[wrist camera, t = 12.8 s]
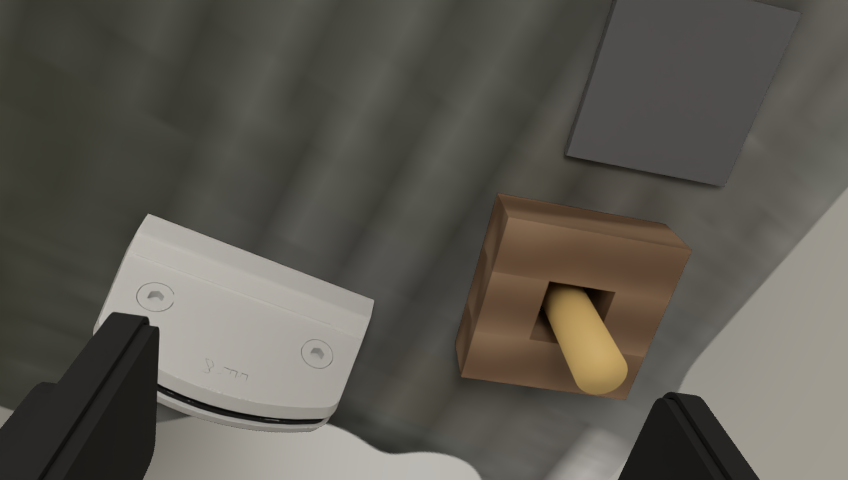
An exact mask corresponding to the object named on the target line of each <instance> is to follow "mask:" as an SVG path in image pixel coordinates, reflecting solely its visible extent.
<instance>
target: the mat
mask: <svg viewBox="0 0 848 480" xmlns="http://www.w3.org/2000/svg"><path fill="white" fill-rule="evenodd" d="M801 14H802V13H800V12H796V11H792V10H788V9H784V8H780V7H776V6H772V5H768V4H764V3H760V2H756V1H752V0H613V3H612V6H611V9H610V12H609V16H608V19H607V22H606V25H605V28H604V31H603V34H602V37H601V40H600V43H599V46H598V50H597V53H596V56H595V59H594V62H593V65H592V68H591V71H590V74H589V77H588V80H587V84H586V87H585V90H584V93H583V96H582V99H581V102H580V105H579V108H578V111H577V114H576V118H575V121H574V124H573V127H572V130H571V133H570V136H569V139H568V142H567V145H566V148H565V152H564V153H565V154H566V155H567V156H571V157H576V158H581V159H586V160H592V161H597V162H602V163H607V164H612V165H617V166H622V167H627V168H632V169H637V170H642V171H647V172H652V173H657V174H662V175H667V176H672V177H677V178H682V179H687V180H692V181H697V182H702V183H707V184H712V185H717V186H722V187H724V186H725V184H726V182H727V179H728V177H729V175H730V173H731V171H732V168H733V166H734V164H735V162H736V159H737V157H738V155H739V153H740V150H741V148H742V146H743V144H744V142H745V139H746V137H747V135H748V133H749V130H750V128H751V126H752V124H753V121H754V119H755V117H756V115H757V113H758V110H759V108H760V106H761V104H762V101H763V99H764V97H765V95H766V92H767V90H768V88H769V86H770V84H771V81H772V79H773V77H774V75H775V72H776V70H777V68H778V66H779V63H780V61H781V59H782V57H783V55H784V52H785V50H786V48H787V46H788V43H789V41H790V39H791V37H792V34H793V32H794V30H795V28H796V26H797V23H798V21H799V19H800V17H801Z"/></svg>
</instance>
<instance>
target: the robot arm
mask: <svg viewBox="0 0 848 480" xmlns="http://www.w3.org/2000/svg"><path fill="white" fill-rule="evenodd" d="M159 338H160V330H159V327H158V326H151V325H150V321H149V318H148V317H147V316H140V315H134V314H127V313H120V312H112V313H111V314H110V315H109V316H108V317H107V319H106V320H105V321H104V322H103V324H102V325H101V326H100V328H99V329H98V330H97V332H96V333H95V334H94V336H93V337H92V338H91V340H90V341H89V342H88V344H87V345H86V346H85V348H84V349H83V350H82V352H81V353H80V354H79V356H78V357H77V358H76V360H75V361H74V362H73V363H72V365H71V366H70V367H69V369H68V370H67V371H66V373H65V374H64V375H63V377H62V378H61V379H60V381H59V382H58V383H57V384H55V383H47V382H42V383H40V384H38V385H36V386H35V387H34V388H33V389H32V390H31V391H30V393H29V394H28V395H27V396H26V397H25V399H24V400H23V401H22V402H21V404H20V405H19V406H18V407H17V409H16V410H15V411H14V412H13V414H12V415H11V416H10V418H9V419H8V420H7V421H6V422H5V424H4V425H3V426H2V427H1V429H0V480H143V478H144V476H145V473H146V471H147V469H148V467H149V465H150V462H151V459H152V456H153V452H154V446H155V435H156V411H157V386H158V362H159ZM618 480H759V478H758V477H757V475H756V474H755V473H754V471H753V470H752V469H751V467H750V465H749V464H748V463H747V461H746V460H745V458H744V457H743V456H742V454H741V453H740V451H739V450H738V448H737V447H736V446H735V444H734V443H733V441H732V440H731V438H730V437H729V436H728V434H727V433H726V431H725V430H724V429H723V427H722V426H721V424H720V423H719V421H718V420H717V419H716V417H715V416H714V414H713V413H712V412H711V411H710V409H709V407H708V406H707V404H706V403H705V402H704V400H703V399H702V398H701V397H699V396H696V395H689V394H682V393H675V392H668V393H667V394H665V395H664V396H663V398H658V399H657V400H656V401H655V403H654V404H653V406H652V409H651V411H650V413H649V415H648V417H647V419H646V421H645V423H644V426H643V428H642V430H641V432H640V434H639V436H638V438H637V440H636V442H635V445H634V447H633V449H632V451H631V453H630V455H629V457H628V459H627V462H626V464H625V466H624V468H623V470H622V472H621V474H620V477H619V479H618Z"/></svg>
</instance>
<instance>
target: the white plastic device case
mask: <svg viewBox="0 0 848 480" xmlns="http://www.w3.org/2000/svg"><path fill="white" fill-rule="evenodd" d="M373 304H374V300H372V299H370V298H367V297H364V296H362V295H359V294H357V293H354V292H351V291H349V290H346V289H344V288H341V287H338V286H336V285H333V284H330V283H328V282H325V281H323V280H320V279H317V278H315V277H312V276H310V275H307V274H304V273H302V272H299V271H297V270H294V269H291V268H289V267H286V266H284V265H281V264H278V263H276V262H273V261H271V260H268V259H265V258H263V257H260V256H257V255H255V254H252V253H250V252H247V251H244V250H242V249H239V248H237V247H234V246H231V245H229V244H226V243H224V242H221V241H218V240H216V239H213V238H211V237H208V236H205V235H203V234H200V233H198V232H195V231H192V230H190V229H187V228H184V227H182V226H179V225H177V224H174V223H171V222H169V221H166V220H164V219H161V218H158V217H156V216H153V215H151V214H148V215H147V216H146V218H145V219H144V221H143V223H142V224H141V226H140V227H139V229H138V230H137V232H136V234H135V236H134V238H133V239H132V241H131V243H130V245H129V247H128V248H127V251H126V253H125V255H124V258H123V260H122V262H121V265H120V267H119V270H118V272H117V274H116V277H115V279H114V282H113V284H112V286H111V289H110V291H109V293H108V296H107V298H106V301H105V303H104V305H103V308H102V310H101V312H100V315H99V317H98V320H97V322H96V324H95V327H94V332H93V335H94V334H95V333H96V332H97V330H98V329H99V328H100V326H101V325H102V324H103V322H104V321H105V320H106V319H107V317H108V316H109V315H110V314H111V313H112V312H120V313H127V314H134V315H140V316H147V317H148V318H149V321H150V325H151V326H158V327H159V330H160V338H159V362H158V386H157V402H159V403H162V404H164V405H166V406H168V407H170V408H173V409H175V410H178V411H180V412H183V413H185V414H188V415H191V416H194V417H197V418H200V419H203V420H207V421H210V422H214V423H218V424H222V425H226V426H231V427H236V428H242V429H249V430H256V431H267V432H311V431H313V430H316V429H317V428H319V427H321V426H323V425H324V424H325V423H326V422H327V421H328V420H329V418H330V416H331V415H332V414H333V413H334V412H335V411H336V409H337V406H338V404H339V401H340V399H341V396H342V393H343V391H344V388H345V386H346V383H347V381H348V378H349V375H350V373H351V370H352V367H353V365H354V362H355V359H356V357H357V354H358V351H359V349H360V346H361V344H362V341H363V338H364V336H365V333H366V330H367V327H368V324H369V321H370V318H371V314H372V309H373Z"/></svg>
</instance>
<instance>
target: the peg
mask: <svg viewBox="0 0 848 480" xmlns="http://www.w3.org/2000/svg"><path fill="white" fill-rule="evenodd" d="M542 306H543V308H544V310H545V313H546V315H547V317H548V320H549V322H550V324H551V327H552V329H553V331H554V333H555V336H556V338H557V340H558V343H559V345H560V347H561V350H562V352H563V354H564V356H565V359H566V361H567V363H568V366H569V368H570V370H571V373H572V375H573V377H574V379H575V382H576V384H577V386H578V387H579V388H580V389H581V390H583V391H584V392H586V393H589V394H595V395H597V394H605V393H608V392H611V391H613V390H615V389H616V388H617V387H619V386H620V385H621V384H622V383H623V381H624V380H625V378H626V376H627V372H628V368H627V363H626V361H625V359H624V358H623V356H622V354H621V353H620V351H619V349H618V347H617V346H616V344H615V342H614V340H613V339H612V337H611V335H610V334H609V332H608V330H607V328H606V327H605V325H604V323H603V322H602V320H601V318H600V316H599V315H598V313H597V311H596V309H595V308H594V306H593V304H592V303H591V301H590V299H589V297H588V296H587V294H586V292H585V290H584V289H583V287H582V286H576V285H570V284H564V283H558V282H552V281H549V284H548V287H547V290H546V293H545V295H544V298H543V301H542Z"/></svg>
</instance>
